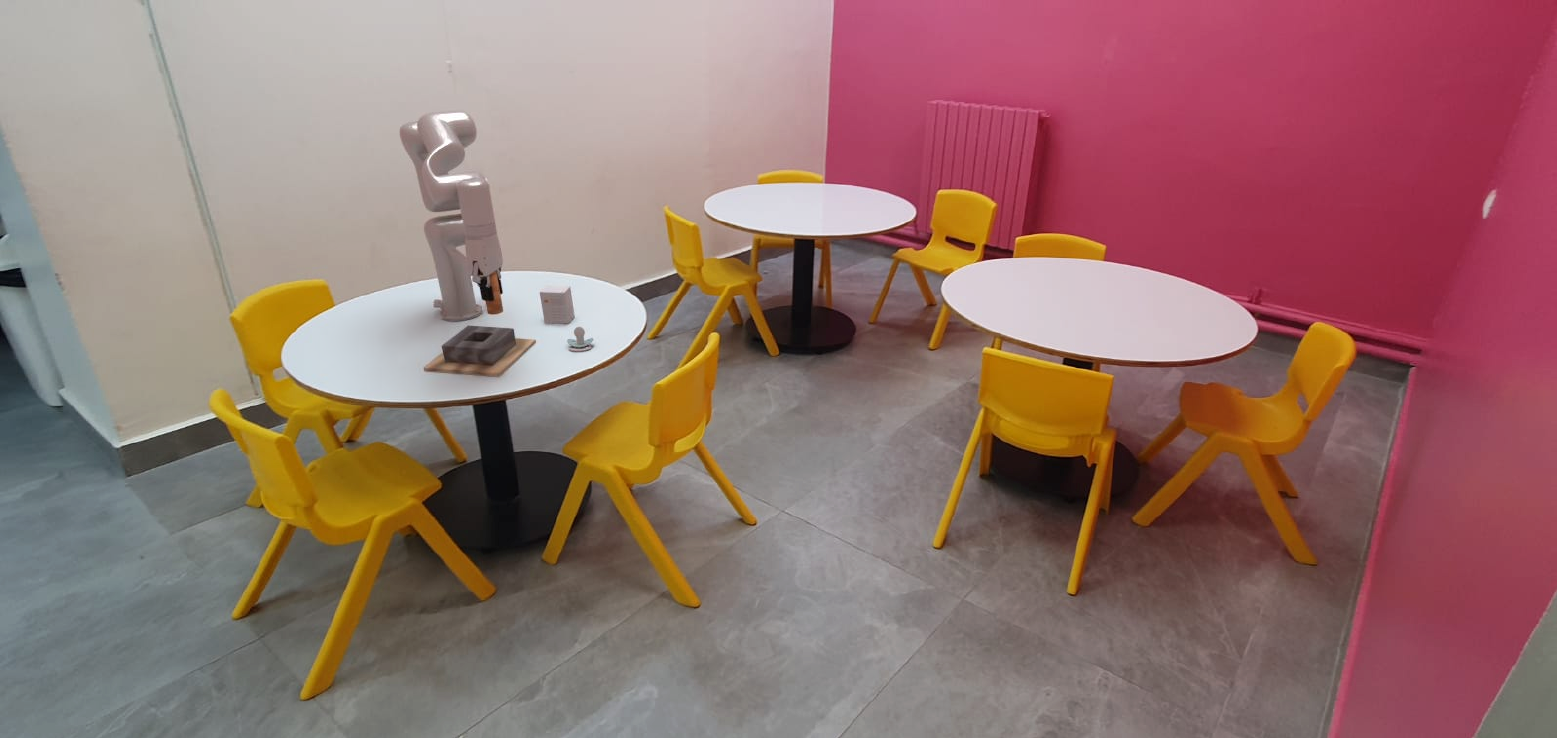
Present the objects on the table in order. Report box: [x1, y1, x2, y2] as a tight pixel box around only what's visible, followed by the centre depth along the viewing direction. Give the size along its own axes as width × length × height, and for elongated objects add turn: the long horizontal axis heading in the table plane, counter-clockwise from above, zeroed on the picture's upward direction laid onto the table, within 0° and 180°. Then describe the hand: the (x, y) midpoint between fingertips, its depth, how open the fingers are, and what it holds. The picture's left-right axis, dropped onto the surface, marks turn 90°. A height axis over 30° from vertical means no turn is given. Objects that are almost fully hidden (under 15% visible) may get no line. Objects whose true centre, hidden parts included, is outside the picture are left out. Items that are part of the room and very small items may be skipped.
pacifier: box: [566, 326, 594, 352], centre depth 213 cm, size 7×6×6 cm
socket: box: [423, 325, 537, 378], centre depth 208 cm, size 22×22×6 cm
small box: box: [539, 285, 576, 325], centre depth 230 cm, size 8×6×10 cm
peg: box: [481, 270, 504, 316], centre depth 194 cm, size 4×4×12 cm
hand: (492, 296), depth 194 cm, fingers closed on peg, 4 cm apart
